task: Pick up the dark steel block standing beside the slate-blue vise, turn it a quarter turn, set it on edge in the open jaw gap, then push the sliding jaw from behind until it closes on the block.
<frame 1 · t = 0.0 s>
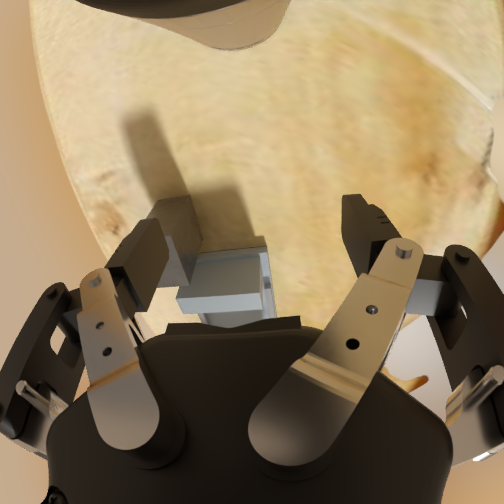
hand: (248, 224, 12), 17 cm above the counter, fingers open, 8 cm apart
vise base: (237, 305, 40), on the counter
block: (180, 220, 32), on the counter
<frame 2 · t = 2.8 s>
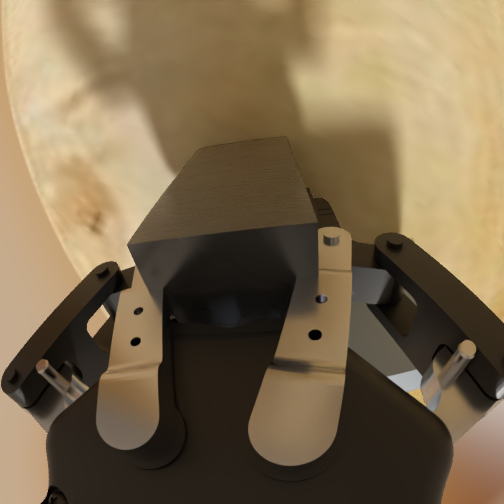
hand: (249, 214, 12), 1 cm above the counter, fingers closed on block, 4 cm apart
vise base: (324, 360, 22), on the counter
block: (251, 200, 14), on the counter, touching gripper
when the fingers open (4 cm above the counter, at t = 7.3 s): block drops 1 cm, resting on vise base.
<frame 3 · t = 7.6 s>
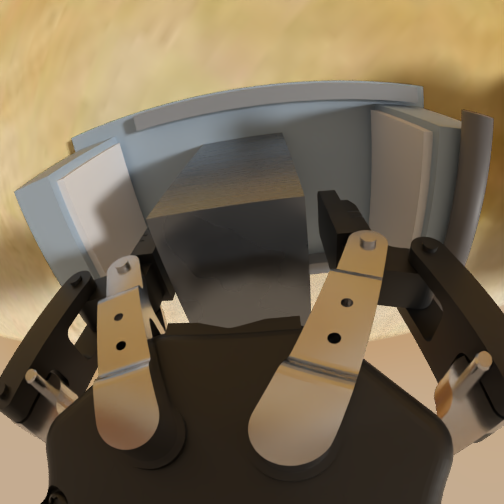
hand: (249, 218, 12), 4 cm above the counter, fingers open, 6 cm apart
vise base: (252, 182, 16), on the counter
free jaw: (421, 207, 11), point 5 cm above the counter, slide at 0.0 cm
block: (251, 191, 15), point 1 cm above the counter, touching vise base
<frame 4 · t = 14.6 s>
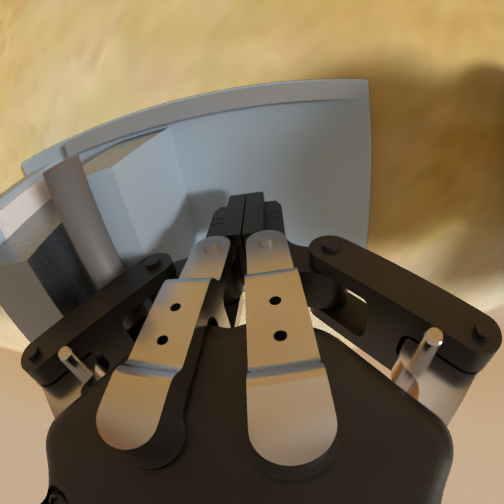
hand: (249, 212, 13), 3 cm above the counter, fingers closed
vise base: (185, 198, 15), on the counter
free jaw: (142, 249, 11), point 5 cm above the counter, slide at 9.0 cm, touching block, gripper, hand
block: (111, 222, 15), point 1 cm above the counter, touching free jaw, vise base
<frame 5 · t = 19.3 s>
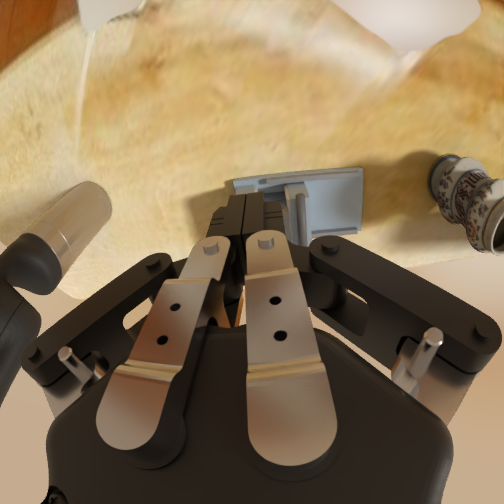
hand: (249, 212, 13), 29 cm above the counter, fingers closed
vise base: (301, 203, 44), on the counter
free jaw: (298, 218, 40), point 5 cm above the counter, slide at 9.0 cm
block: (273, 209, 43), point 1 cm above the counter, touching vise base
apothecary jar: (447, 178, 39), on the counter
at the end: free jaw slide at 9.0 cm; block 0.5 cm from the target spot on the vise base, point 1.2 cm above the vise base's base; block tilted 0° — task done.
